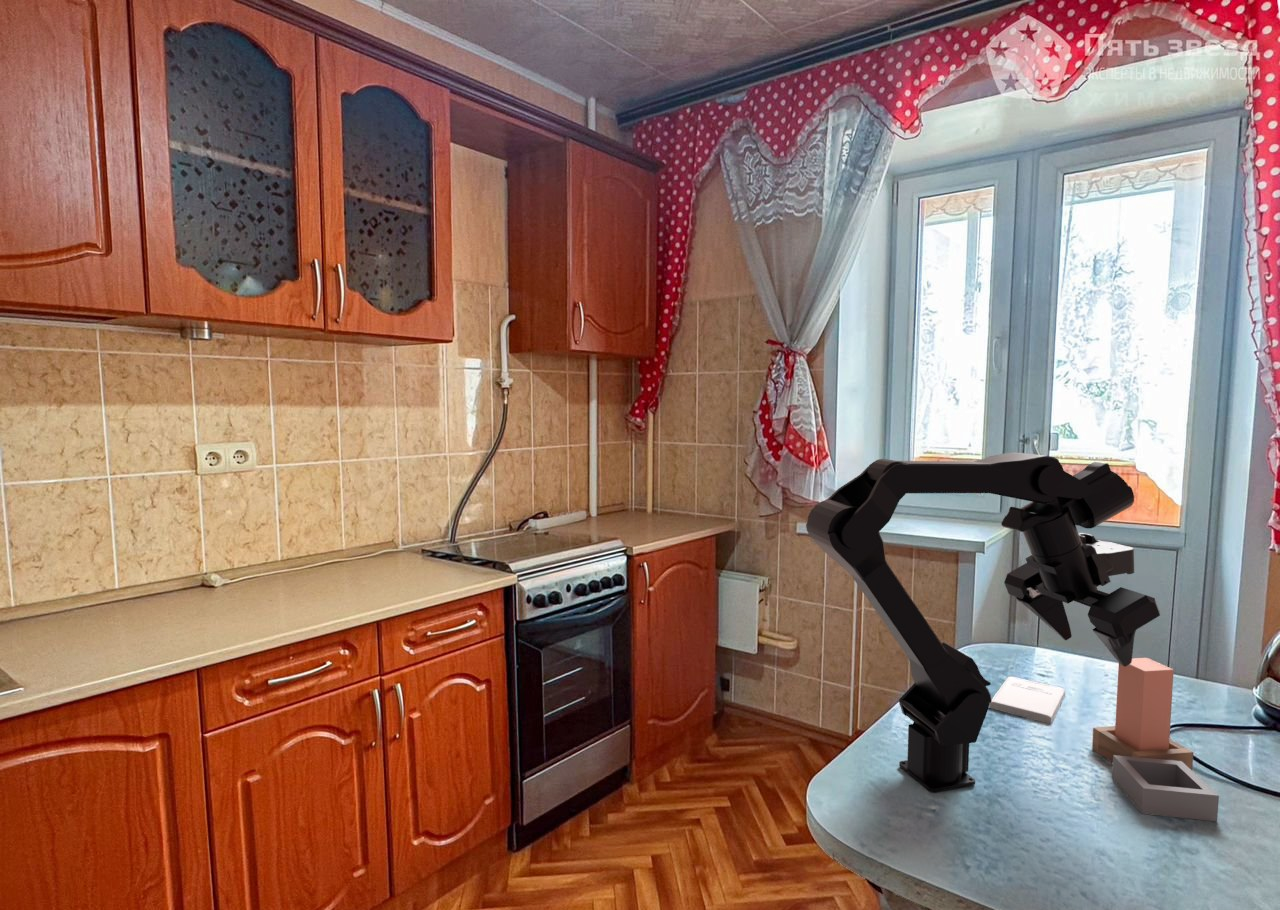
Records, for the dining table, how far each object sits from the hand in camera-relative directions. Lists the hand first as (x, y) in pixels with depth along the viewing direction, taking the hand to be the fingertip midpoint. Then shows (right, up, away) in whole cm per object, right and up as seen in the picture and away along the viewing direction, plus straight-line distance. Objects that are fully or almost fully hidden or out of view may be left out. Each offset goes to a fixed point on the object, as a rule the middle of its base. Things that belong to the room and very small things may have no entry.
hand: (1095, 650), depth 89 cm
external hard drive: (+2, -14, +18) cm, 23 cm away
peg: (+6, -15, 0) cm, 16 cm away
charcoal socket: (+3, -15, -8) cm, 17 cm away
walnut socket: (+6, -14, 0) cm, 16 cm away
